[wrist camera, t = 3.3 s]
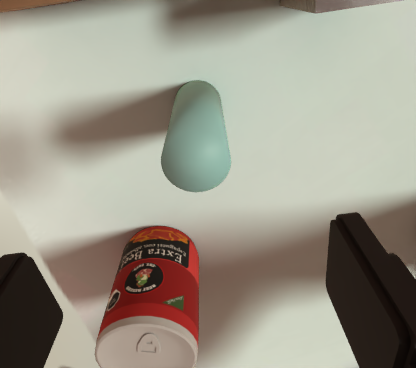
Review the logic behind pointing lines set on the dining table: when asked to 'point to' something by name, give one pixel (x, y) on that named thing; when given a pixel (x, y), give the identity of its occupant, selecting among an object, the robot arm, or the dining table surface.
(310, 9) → the flat bit
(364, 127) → the dining table surface
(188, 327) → the canned food
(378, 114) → the dining table surface
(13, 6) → the socket block
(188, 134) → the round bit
